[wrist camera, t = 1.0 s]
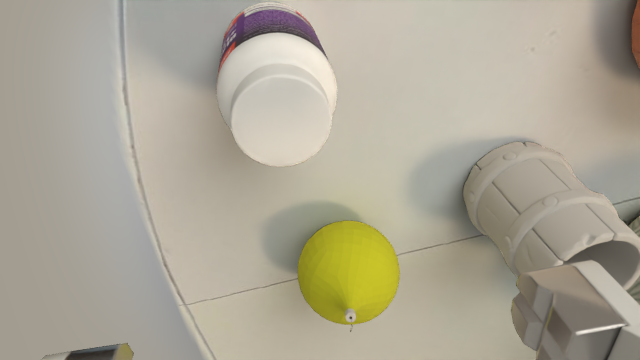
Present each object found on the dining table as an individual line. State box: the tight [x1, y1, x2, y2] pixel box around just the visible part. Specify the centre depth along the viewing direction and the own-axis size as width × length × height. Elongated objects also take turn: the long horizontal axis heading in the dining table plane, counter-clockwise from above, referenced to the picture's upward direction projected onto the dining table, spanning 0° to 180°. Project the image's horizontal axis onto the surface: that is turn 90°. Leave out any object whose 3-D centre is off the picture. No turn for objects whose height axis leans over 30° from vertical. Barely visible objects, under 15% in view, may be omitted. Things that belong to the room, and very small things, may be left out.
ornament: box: [298, 221, 400, 332], centre depth 29 cm, size 7×7×10 cm
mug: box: [463, 142, 640, 291], centre depth 29 cm, size 8×12×12 cm, turn 31°
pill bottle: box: [216, 2, 337, 167], centre depth 21 cm, size 5×5×10 cm
